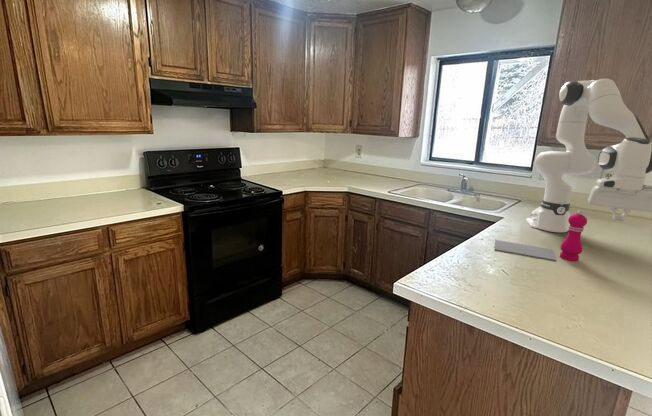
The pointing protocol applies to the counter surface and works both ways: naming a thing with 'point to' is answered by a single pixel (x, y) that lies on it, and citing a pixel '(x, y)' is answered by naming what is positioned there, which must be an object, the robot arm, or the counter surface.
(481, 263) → the counter surface
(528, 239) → the counter surface
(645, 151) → the robot arm
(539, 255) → the mat
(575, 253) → the pepper mill
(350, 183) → the counter surface
